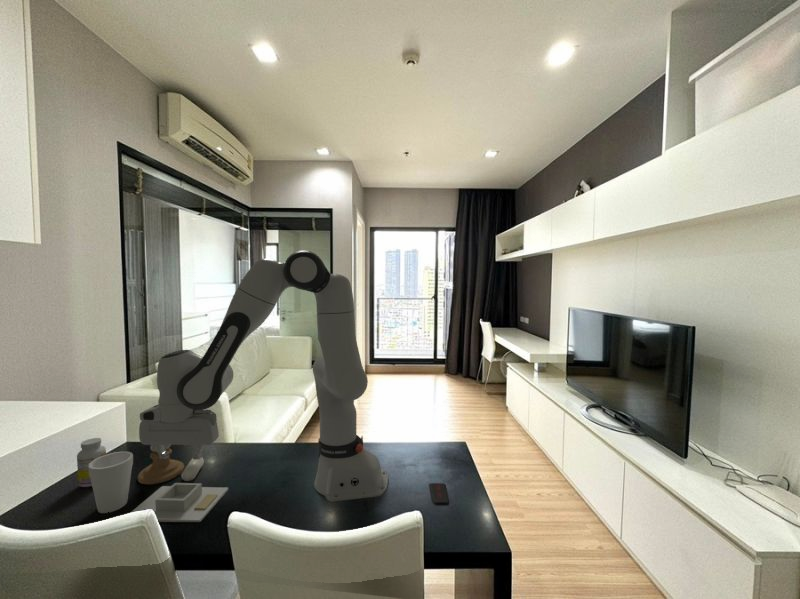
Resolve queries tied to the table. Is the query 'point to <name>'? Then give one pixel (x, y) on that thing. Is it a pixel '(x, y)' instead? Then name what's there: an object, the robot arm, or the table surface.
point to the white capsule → (192, 469)
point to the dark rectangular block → (439, 493)
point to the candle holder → (160, 468)
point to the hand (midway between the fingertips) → (181, 458)
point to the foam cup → (111, 480)
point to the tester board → (183, 502)
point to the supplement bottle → (88, 459)
